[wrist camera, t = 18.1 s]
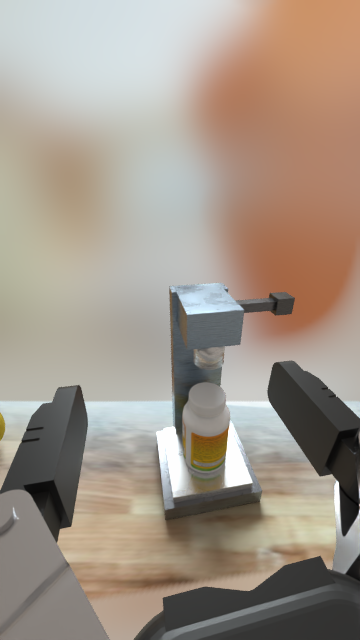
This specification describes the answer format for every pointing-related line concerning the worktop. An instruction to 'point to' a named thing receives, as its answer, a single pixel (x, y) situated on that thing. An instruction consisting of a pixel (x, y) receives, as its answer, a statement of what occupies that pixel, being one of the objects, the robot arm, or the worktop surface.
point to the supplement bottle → (205, 428)
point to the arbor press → (205, 366)
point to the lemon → (2, 426)
